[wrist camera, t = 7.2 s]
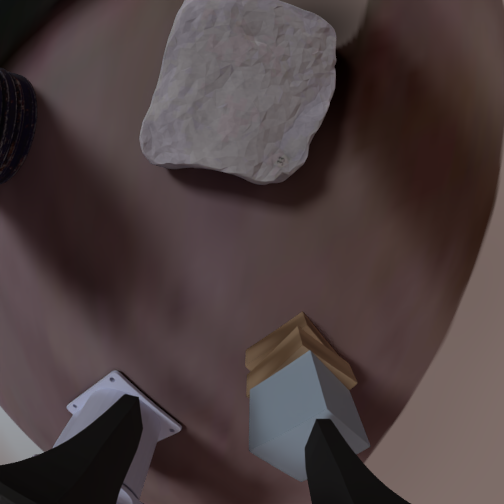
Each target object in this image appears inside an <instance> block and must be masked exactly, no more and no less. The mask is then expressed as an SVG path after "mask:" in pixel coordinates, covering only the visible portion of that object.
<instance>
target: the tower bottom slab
mask: <svg viewBox="0 0 504 504" xmlns="http://www.w3.org/2000/svg"><path fill="white" fill-rule="evenodd" d="M297 326H298V327H299V328H301V329H302V330H304V331H305V332H306V333H308V334H309V335H310V336H312V337H313V338H314V339H316V340H317V341H319V342H320V343H321V344H323V345H324V346H325V347H327V348H328V349H330V350H331V351H332V352H334V353H335V354H337V353H336V352H335V350H334V349H333V348H332V347H331V346H330V344H329V343H328V342H327V341H326V339H325V338H324V337H323V336H322V334H321V333H320V332H319V331H318V330H317V328H316V327H315V326H314V325H313V323H312V322H311V321H310V320H309V319H308V317H307V316H306V315H305V314H304V312H301V313H300V314H298V315H297V316H295V317H294V318H293V319H291V320H290V321H288V322H287V323H285V324H284V325H283V326H281V327H280V328H278V329H277V330H275V331H274V332H272V333H271V334H269V335H268V336H266V337H265V338H263V339H262V340H260V341H259V342H257V343H256V344H254V345H253V346H251V347H250V348H248V349H247V350H246V358H245V366H246V367H247V368H248V369H249V370H250V371H252V370H253V369H254V368H255V367H256V366H257V365H258V364H259V363H260V362H261V361H262V360H263V359H265V358H266V357H267V356H268V355H269V354H270V353H271V352H272V351H273V350H274V349H275V348H276V347H277V346H278V345H279V344H280V343H281V342H282V341H283V340H284V339H285V338H286V337H287V336H288V335H289V334H290V333H291V332H292V331H293V330H294V329H295V328H296V327H297ZM337 355H338V354H337ZM338 356H339V355H338Z"/></svg>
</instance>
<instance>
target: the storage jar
mask: <svg viewBox="0 0 504 504" xmlns="http://www.w3.org/2000/svg"><path fill="white" fill-rule="evenodd" d="M36 120H37V102H36V96H35V92H34V89H33V87H32V85H31V83H30V82H29V81H28V80H27V79H26V78H25V77H23V76H21V75H18V74H14V73H11V72H8V71H6V70H5V69H3V68H0V184H2V183H4V182H6V181H8V180H9V179H10V178H12V177H13V176H14V175H15V173H16V172H17V171H18V170H19V168H20V167H21V165H22V164H23V162H24V160H25V158H26V156H27V154H28V152H29V149H30V146H31V143H32V141H33V136H34V133H35V127H36Z"/></svg>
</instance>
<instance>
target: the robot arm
mask: <svg viewBox="0 0 504 504" xmlns="http://www.w3.org/2000/svg"><path fill="white" fill-rule="evenodd" d="M112 378H114V379H115V380H114V379H112ZM67 409H68V410H69V411H70V412H71V413H72V414H73V416H72V417H71V419H70V420H69V422H68V424H67V425H66V427H65V428H64V430H63V431H62V433H61V435H60V436H59V438H58V440H57V441H56V443H55V444H54V446H53V448H52V449H50V450H48V451H46V452H44V453H42V454H38V455H34V456H32V457H31V458H28V459H25V460H22V461H19V462H15V463H10V464H5V465H0V504H144V503H142V502H140V501H139V499H140V496H141V492H142V489H143V486H144V482H145V479H146V476H147V473H148V469H149V466H150V463H151V460H152V456H153V453H154V450H155V447H156V444H157V442H158V441H160V440H163V439H165V438H167V437H169V436H171V435H174V434H176V433H178V432H180V431H181V428H182V426H181V425H180V424H179V423H178V422H176V421H175V420H174V419H173V418H171V417H170V416H169V415H168V414H166V413H165V412H164V411H163V410H162V409H160V408H159V407H158V406H157V405H156V404H154V403H153V402H152V401H151V400H150V399H149V398H147V397H146V396H145V395H144V394H143V393H142V392H141V391H139V390H138V389H137V388H136V387H135V386H134V385H133V384H132V383H131V382H130V381H128V380H127V379H126V378H125V377H124V376H123V375H122V374H121V373H120V372H119V371H116V370H114V371H112V372H111V373H109V374H108V375H107V376H105V377H104V378H103V379H101V380H100V381H99V382H97V383H96V384H95V385H93V386H92V387H91V388H89V389H88V390H87V391H85V392H84V393H83V394H81V395H80V396H79V397H77V398H76V399H75V400H73V401H72V402H71V403H69V404H68V405H67ZM305 469H306V474H307V480H308V485H309V490H310V496H311V501H312V504H411V503H409V502H407V501H406V500H404V499H403V498H401V497H400V496H399V495H397V494H396V493H394V492H393V491H392V490H390V489H389V488H388V487H387V486H385V485H384V484H383V483H382V482H381V481H380V480H379V479H378V478H377V477H376V476H375V475H374V474H373V473H372V472H371V471H370V470H369V469H368V468H367V467H366V466H365V465H364V463H363V462H362V461H361V460H360V459H359V458H358V456H357V455H356V454H355V452H354V451H353V450H352V449H351V447H350V446H349V445H348V443H347V442H346V440H345V439H344V438H343V436H342V435H341V433H340V432H339V430H338V429H337V427H336V426H335V424H334V423H333V422H332V420H331V419H316V420H315V423H314V426H313V428H312V431H311V433H310V436H309V438H308V441H307V443H306V446H305Z"/></svg>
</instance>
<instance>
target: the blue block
mask: <svg viewBox="0 0 504 504" xmlns="http://www.w3.org/2000/svg"><path fill="white" fill-rule="evenodd" d="M316 419H331V420H332V422H333V423H334V424H335V426H336V427H337V429H338V430H339V432H340V433H341V435H342V436H343V438H344V439H345V440H346V442H347V443H348V445H349V446H350V447H351V449H352V450H353V451H354V452H355V454H358V453H360V452H362V451H364V450H365V449H367V448H369V447H370V443H369V441H368V438H367V435H366V433H365V430H364V427H363V425H362V422H361V419H360V417H359V414H358V412H357V409H356V406H355V404H354V401H353V399H352V396H351V394H350V391H349V390H348V389H347V388H346V387H345V386H344V385H343V384H342V383H341V382H340V381H339V379H338V378H337V377H336V376H335V375H334V374H333V373H332V372H331V371H330V370H329V369H328V368H327V367H326V366H325V365H324V364H323V363H322V362H321V361H320V360H319V359H318V358H317V357H316V356H315V355H314V353H313V352H312V351H311V350H309V351H308V352H306V353H305V354H303V355H302V356H301V357H299V358H298V359H296V360H295V361H293V362H292V363H290V364H289V365H287V366H286V367H284V368H283V369H281V370H280V371H278V372H277V373H275V374H274V375H272V376H271V377H269V378H267V379H266V380H264V381H263V382H261V383H260V384H258V385H256V386H255V387H253V388H252V389H250V414H249V451H250V452H251V453H253V454H254V455H256V456H258V457H259V458H261V459H262V460H264V461H266V462H267V463H269V464H271V465H272V466H274V467H276V468H277V469H279V470H281V471H283V472H284V473H286V474H288V475H290V476H291V477H293V478H295V479H297V480H299V481H300V482H302V481H304V480H307V474H306V469H305V446H306V443H307V441H308V438H309V436H310V433H311V431H312V428H313V426H314V423H315V420H316Z"/></svg>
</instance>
